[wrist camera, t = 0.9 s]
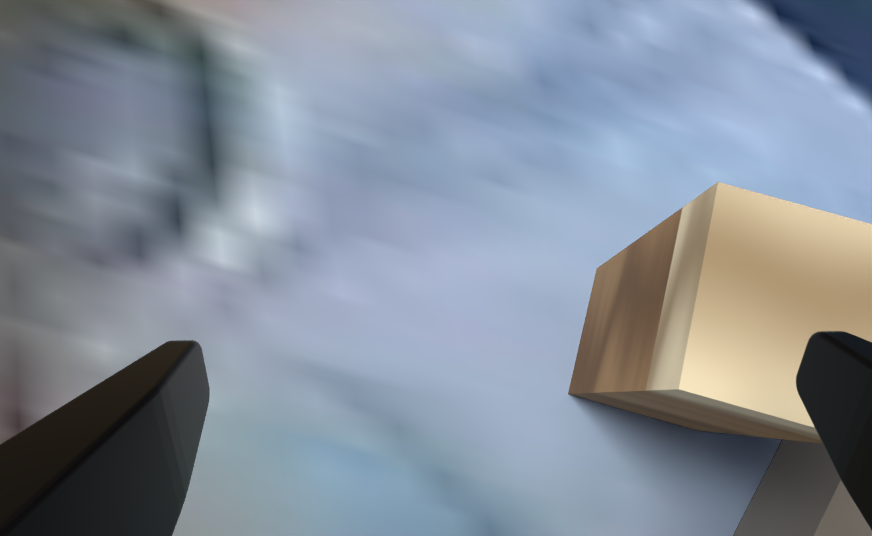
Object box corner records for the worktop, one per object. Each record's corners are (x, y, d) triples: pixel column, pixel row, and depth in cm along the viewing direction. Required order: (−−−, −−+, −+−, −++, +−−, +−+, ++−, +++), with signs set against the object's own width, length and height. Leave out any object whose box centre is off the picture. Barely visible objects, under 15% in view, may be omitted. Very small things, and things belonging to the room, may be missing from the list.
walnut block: (697, 430, 23) (901, 452, 14) (568, 394, 24) (679, 389, 14) (720, 303, 25) (924, 239, 15) (596, 268, 25) (717, 182, 15)
